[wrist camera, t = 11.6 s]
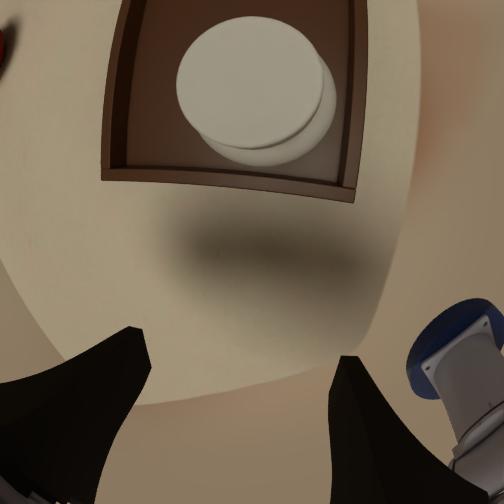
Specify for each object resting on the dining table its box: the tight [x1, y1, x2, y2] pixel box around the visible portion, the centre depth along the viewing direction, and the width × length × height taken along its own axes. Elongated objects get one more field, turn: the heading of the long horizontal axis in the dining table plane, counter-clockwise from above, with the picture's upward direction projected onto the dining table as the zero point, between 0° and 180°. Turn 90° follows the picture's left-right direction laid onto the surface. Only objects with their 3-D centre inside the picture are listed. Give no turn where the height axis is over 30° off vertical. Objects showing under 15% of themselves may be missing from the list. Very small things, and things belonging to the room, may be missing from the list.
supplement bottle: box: [176, 16, 337, 167], centre depth 10 cm, size 5×5×10 cm
